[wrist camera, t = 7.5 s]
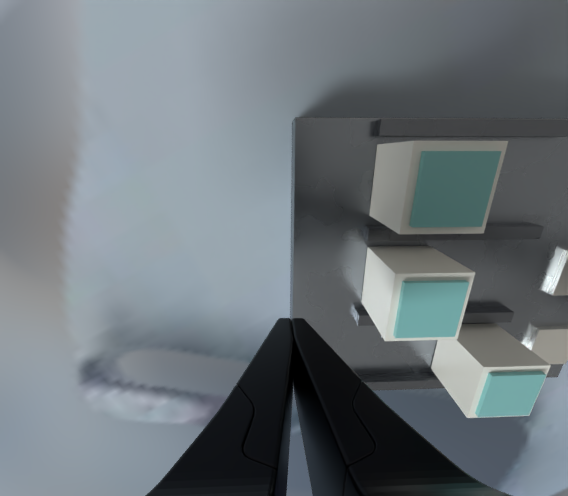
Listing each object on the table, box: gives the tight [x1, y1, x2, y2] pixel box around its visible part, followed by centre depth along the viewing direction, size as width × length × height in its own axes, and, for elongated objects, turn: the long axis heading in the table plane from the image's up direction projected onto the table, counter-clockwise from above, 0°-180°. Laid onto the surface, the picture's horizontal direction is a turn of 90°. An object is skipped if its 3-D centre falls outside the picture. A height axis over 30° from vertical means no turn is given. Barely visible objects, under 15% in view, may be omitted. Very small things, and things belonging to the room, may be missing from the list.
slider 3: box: [431, 323, 551, 418], centre depth 13 cm, size 3×3×3 cm
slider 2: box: [361, 246, 475, 341], centre depth 11 cm, size 3×3×3 cm
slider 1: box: [369, 141, 508, 234], centre depth 10 cm, size 3×3×3 cm
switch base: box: [290, 117, 568, 390], centre depth 14 cm, size 16×14×3 cm
